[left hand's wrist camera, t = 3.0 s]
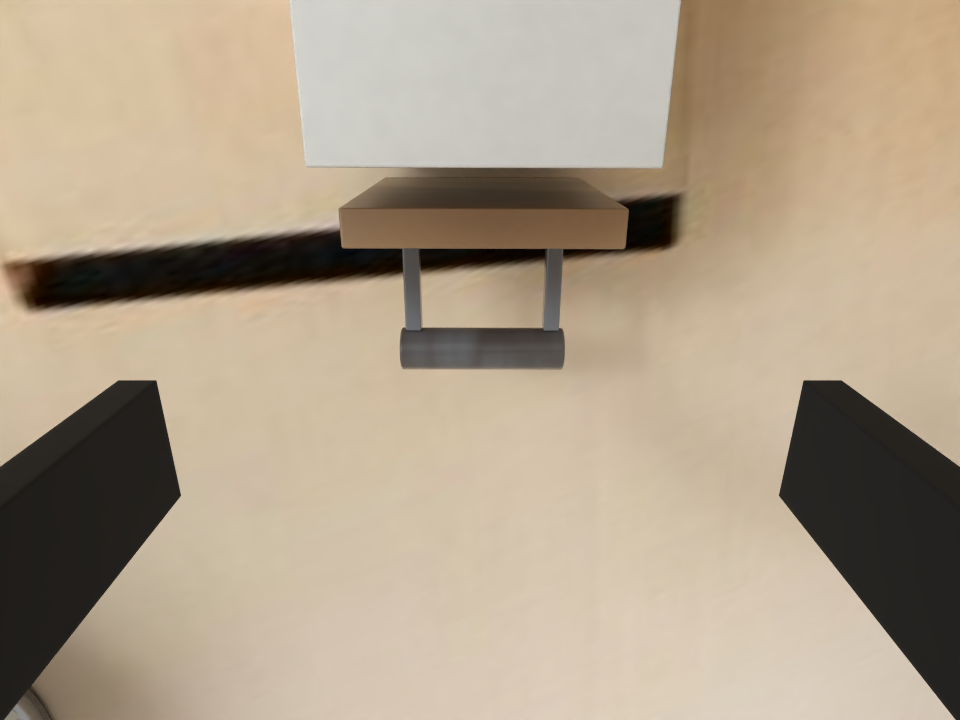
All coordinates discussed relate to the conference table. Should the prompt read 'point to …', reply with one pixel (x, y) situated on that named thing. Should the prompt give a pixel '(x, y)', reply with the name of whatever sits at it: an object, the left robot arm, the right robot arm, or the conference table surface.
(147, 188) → the conference table surface
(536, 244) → the drawer
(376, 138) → the cabinet
